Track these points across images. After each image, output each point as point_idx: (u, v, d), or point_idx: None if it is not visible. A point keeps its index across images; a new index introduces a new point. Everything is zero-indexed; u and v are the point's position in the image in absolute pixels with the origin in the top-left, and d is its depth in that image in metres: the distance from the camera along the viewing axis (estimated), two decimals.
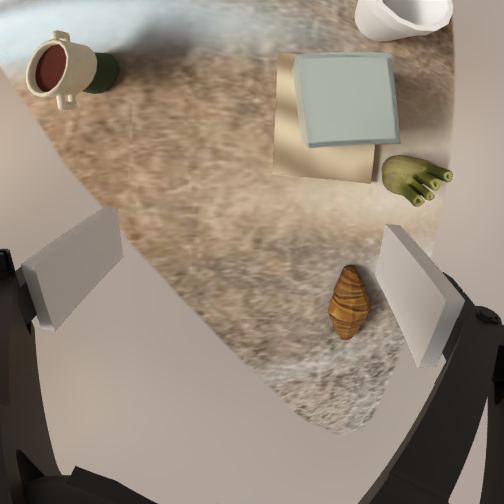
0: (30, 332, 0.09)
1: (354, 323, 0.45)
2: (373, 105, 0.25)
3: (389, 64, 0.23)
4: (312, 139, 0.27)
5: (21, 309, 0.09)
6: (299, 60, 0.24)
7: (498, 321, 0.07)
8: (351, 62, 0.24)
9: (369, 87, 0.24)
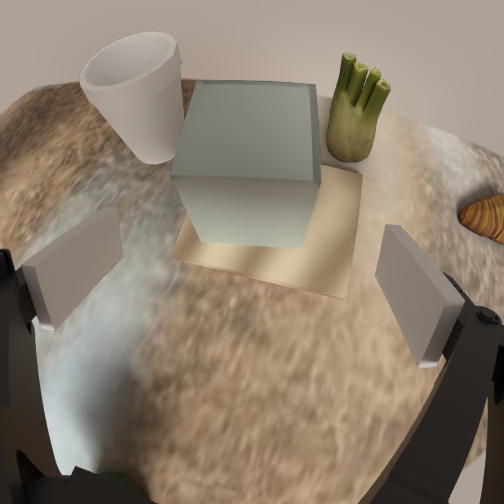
0: (30, 332, 0.09)
1: None
2: (263, 101, 0.20)
3: (210, 82, 0.21)
4: (307, 174, 0.18)
5: (21, 309, 0.09)
6: (180, 172, 0.18)
7: (497, 321, 0.07)
8: (200, 116, 0.20)
9: (238, 102, 0.20)
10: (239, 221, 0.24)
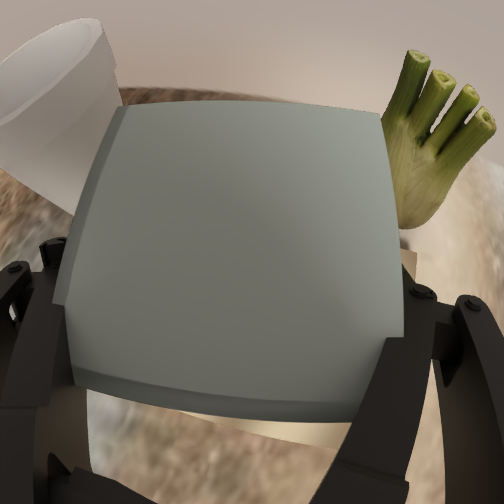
0: None
1: None
2: (260, 160, 0.08)
3: (144, 108, 0.09)
4: None
5: None
6: None
7: (432, 296, 0.08)
8: (105, 204, 0.08)
9: (197, 163, 0.08)
10: None
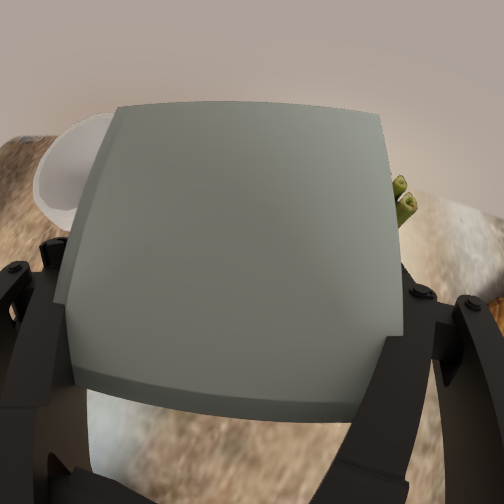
0: None
1: None
2: (260, 161, 0.08)
3: (144, 109, 0.09)
4: None
5: None
6: None
7: (432, 296, 0.08)
8: (106, 205, 0.08)
9: (197, 164, 0.09)
10: None
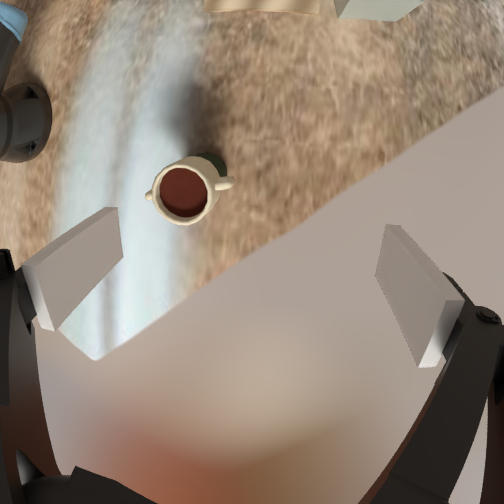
0: (30, 332, 0.09)
1: None
2: None
3: None
4: None
5: (21, 309, 0.09)
6: None
7: (497, 321, 0.07)
8: None
9: None
10: (372, 9, 0.29)
